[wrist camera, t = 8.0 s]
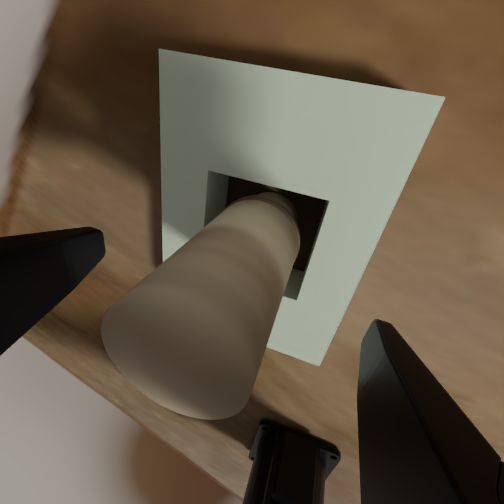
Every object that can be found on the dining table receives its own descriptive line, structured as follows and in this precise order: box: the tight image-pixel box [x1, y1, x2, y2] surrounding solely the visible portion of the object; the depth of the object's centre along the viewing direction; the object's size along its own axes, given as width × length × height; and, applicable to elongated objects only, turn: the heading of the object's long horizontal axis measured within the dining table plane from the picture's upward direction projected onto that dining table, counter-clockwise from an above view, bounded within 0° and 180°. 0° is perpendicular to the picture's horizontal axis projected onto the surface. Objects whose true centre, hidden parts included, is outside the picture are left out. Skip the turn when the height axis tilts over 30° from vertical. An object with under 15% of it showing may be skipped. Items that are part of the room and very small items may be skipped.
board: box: [159, 49, 445, 366], centre depth 12 cm, size 12×9×2 cm
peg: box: [101, 192, 300, 420], centre depth 9 cm, size 4×4×9 cm
